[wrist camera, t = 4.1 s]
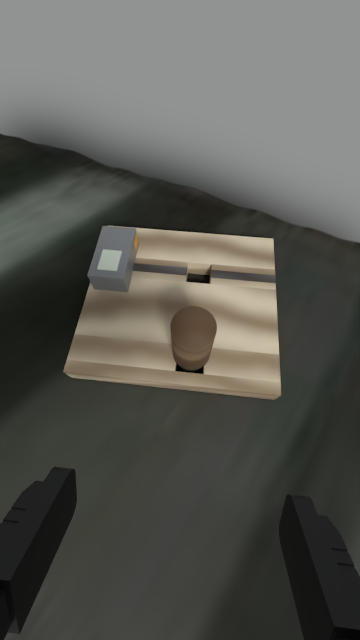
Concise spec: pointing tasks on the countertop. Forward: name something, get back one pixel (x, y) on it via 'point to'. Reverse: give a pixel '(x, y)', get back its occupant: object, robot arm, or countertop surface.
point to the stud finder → (114, 259)
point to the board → (175, 294)
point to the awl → (192, 337)
